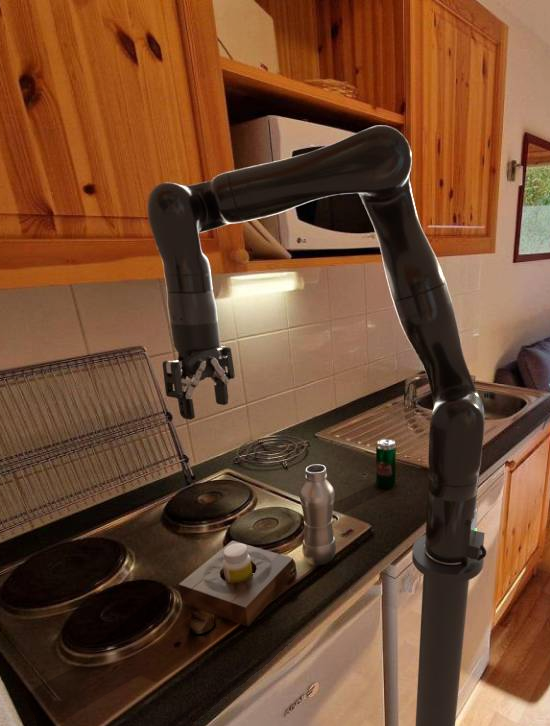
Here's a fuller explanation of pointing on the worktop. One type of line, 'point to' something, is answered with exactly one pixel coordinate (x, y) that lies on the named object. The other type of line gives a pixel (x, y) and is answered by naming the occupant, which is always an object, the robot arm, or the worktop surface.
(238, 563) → the supplement bottle
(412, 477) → the worktop surface
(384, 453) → the soda can
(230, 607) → the bottle holder
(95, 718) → the worktop surface
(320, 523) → the silver metal bottle
